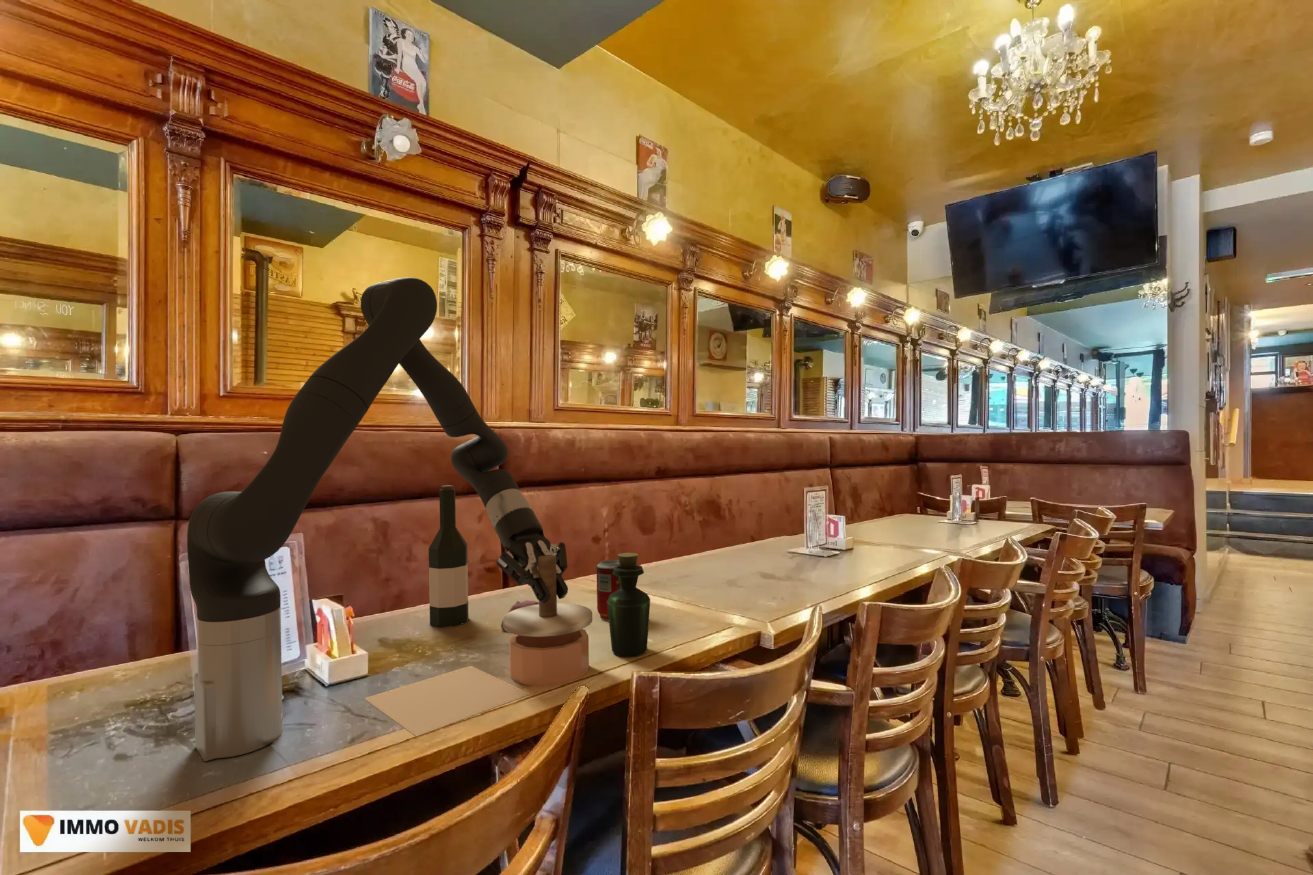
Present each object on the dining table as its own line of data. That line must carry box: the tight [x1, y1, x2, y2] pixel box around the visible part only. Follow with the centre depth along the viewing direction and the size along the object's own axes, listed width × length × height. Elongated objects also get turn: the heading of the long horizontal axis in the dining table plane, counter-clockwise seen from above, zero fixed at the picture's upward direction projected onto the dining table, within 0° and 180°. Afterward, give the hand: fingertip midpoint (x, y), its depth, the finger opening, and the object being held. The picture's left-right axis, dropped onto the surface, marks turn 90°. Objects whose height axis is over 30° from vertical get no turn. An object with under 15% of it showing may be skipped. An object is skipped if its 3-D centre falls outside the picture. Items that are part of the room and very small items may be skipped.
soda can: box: [595, 559, 621, 621], centre depth 136 cm, size 7×7×12 cm
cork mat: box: [363, 665, 531, 738], centre depth 94 cm, size 18×18×1 cm
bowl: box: [508, 628, 590, 687], centre depth 104 cm, size 13×13×6 cm
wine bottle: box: [428, 484, 469, 628], centre depth 134 cm, size 8×8×30 cm
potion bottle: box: [607, 552, 651, 658], centre depth 113 cm, size 8×8×18 cm
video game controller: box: [500, 599, 539, 631], centre depth 128 cm, size 10×5×7 cm, turn 60°
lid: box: [502, 555, 593, 637], centre depth 104 cm, size 15×15×11 cm
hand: (555, 597), depth 103 cm, fingers closed on lid, 3 cm apart
